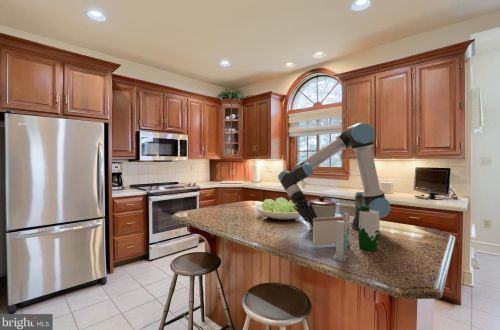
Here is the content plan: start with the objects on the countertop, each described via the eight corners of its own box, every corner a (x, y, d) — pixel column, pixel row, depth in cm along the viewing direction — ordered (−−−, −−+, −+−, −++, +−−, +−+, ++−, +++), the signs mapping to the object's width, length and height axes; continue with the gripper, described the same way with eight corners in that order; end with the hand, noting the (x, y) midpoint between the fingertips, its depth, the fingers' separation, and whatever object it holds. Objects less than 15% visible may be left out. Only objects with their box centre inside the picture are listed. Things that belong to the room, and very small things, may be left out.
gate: (340, 241, 127) (341, 216, 127) (343, 243, 125) (343, 217, 125) (312, 244, 122) (313, 218, 122) (314, 245, 120) (315, 219, 120)
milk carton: (359, 243, 129) (360, 204, 128) (379, 247, 124) (380, 206, 123) (356, 248, 121) (358, 207, 121) (377, 252, 116) (379, 209, 116)
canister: (307, 234, 144) (308, 197, 143) (304, 226, 162) (304, 193, 161) (340, 235, 142) (341, 198, 141) (333, 227, 160) (333, 194, 159)
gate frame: (341, 242, 130) (342, 211, 129) (351, 244, 127) (352, 212, 127) (332, 259, 108) (333, 222, 107) (345, 261, 105) (346, 223, 105)
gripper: (300, 197, 147) (323, 233, 133) (283, 199, 139) (306, 237, 126) (307, 189, 142) (331, 225, 129) (291, 190, 135) (315, 229, 121)
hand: (319, 231), depth 127 cm, fingers closed
